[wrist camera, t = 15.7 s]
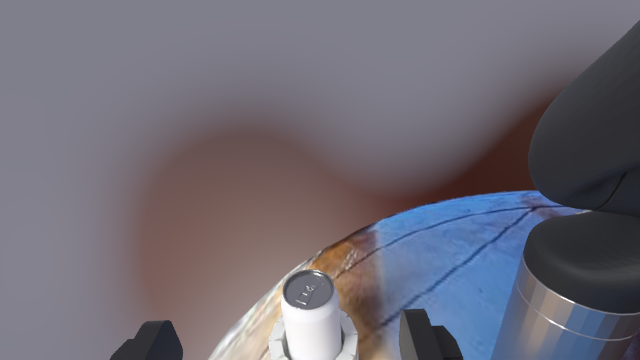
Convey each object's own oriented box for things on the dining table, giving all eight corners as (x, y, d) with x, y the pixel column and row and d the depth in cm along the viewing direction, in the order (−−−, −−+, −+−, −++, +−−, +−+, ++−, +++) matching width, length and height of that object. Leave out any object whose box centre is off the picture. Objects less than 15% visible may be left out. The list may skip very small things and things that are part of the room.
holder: (341, 313, 46) (339, 291, 43) (373, 388, 36) (374, 364, 34) (267, 336, 43) (262, 314, 41) (281, 423, 34) (276, 400, 32)
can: (350, 344, 40) (347, 275, 35) (328, 392, 35) (321, 322, 30) (306, 326, 43) (297, 260, 37) (281, 369, 38) (266, 300, 32)
